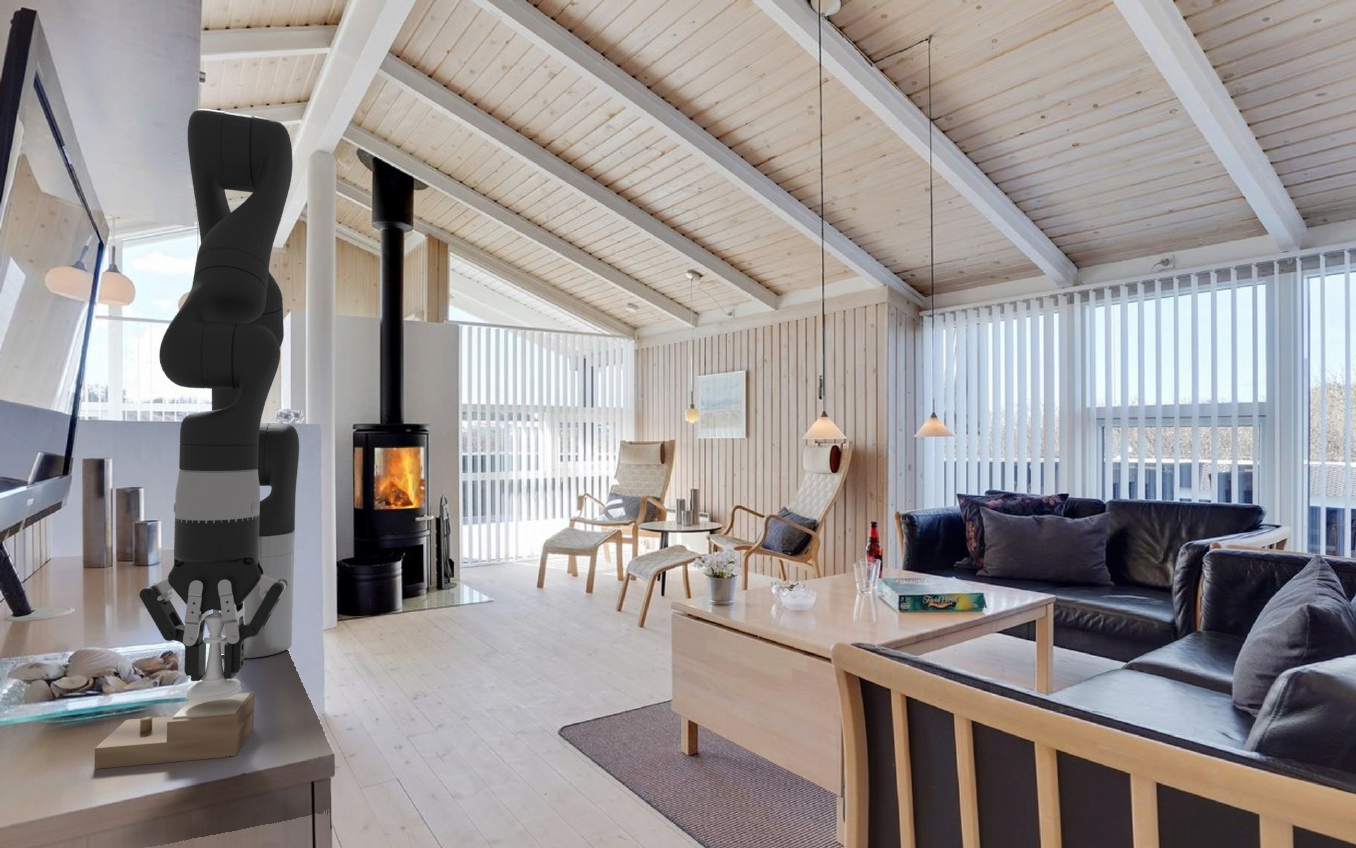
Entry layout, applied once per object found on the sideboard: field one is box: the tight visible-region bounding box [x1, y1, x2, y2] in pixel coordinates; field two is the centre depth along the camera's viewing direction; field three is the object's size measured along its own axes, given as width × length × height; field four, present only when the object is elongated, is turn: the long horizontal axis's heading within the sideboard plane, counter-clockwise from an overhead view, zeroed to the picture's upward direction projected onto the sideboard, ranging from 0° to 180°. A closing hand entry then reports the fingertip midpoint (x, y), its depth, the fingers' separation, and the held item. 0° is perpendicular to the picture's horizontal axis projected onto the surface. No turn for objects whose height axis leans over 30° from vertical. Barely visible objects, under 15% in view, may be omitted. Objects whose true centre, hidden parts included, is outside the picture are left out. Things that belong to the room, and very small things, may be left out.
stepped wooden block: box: [93, 691, 256, 770], centre depth 76 cm, size 7×12×4 cm, turn 106°
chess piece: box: [185, 609, 242, 702], centre depth 77 cm, size 5×5×10 cm
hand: (214, 677), depth 77 cm, fingers closed on chess piece, 2 cm apart
